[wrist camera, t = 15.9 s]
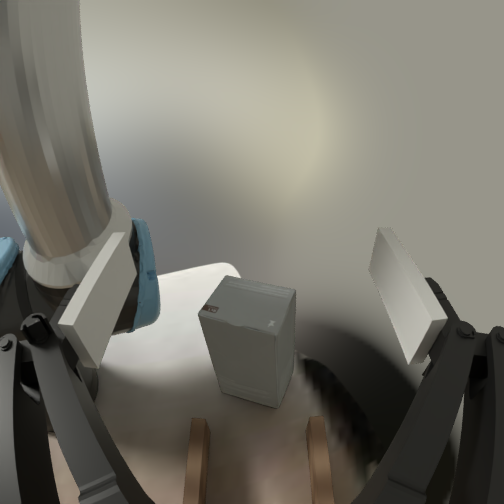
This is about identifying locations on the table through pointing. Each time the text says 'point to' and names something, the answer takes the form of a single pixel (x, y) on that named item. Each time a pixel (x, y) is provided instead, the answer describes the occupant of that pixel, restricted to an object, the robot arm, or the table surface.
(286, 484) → the table surface
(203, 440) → the walnut u-shaped frame
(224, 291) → the skincare box
